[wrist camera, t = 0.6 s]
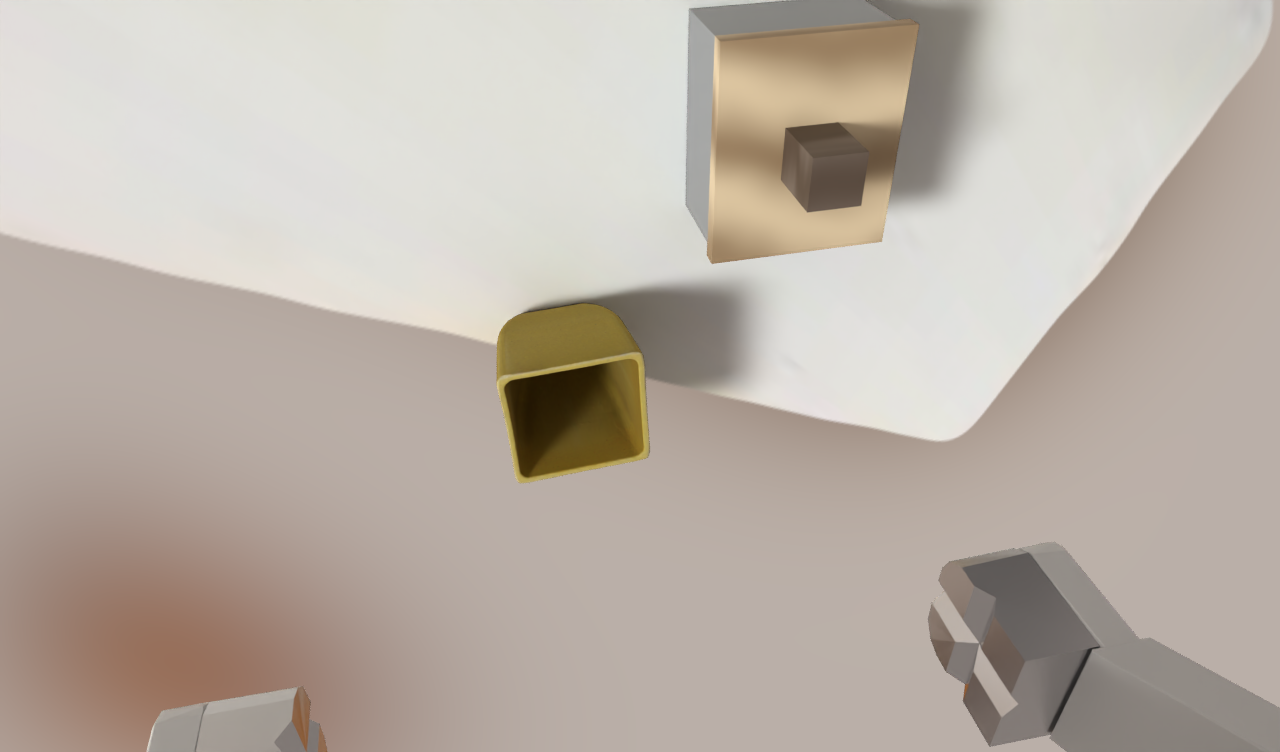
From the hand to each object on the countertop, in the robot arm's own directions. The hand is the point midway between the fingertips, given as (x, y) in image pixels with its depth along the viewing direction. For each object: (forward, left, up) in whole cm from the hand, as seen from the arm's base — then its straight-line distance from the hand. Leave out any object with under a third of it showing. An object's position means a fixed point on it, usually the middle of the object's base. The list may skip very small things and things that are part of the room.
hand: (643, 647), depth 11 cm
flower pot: (+25, +3, -43) cm, 50 cm away
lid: (+10, +17, -38) cm, 43 cm away
